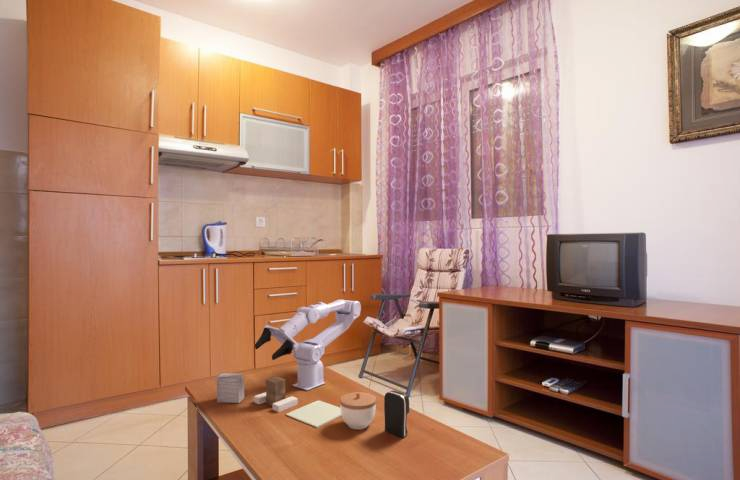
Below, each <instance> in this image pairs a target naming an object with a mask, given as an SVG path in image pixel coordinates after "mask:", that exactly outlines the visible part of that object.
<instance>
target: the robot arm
mask: <svg viewBox="0 0 740 480" xmlns="http://www.w3.org/2000/svg"><path fill="white" fill-rule="evenodd" d="M361 310H362V306H361V302H360V301H358V300H346V299H341V298H340V299H336V300H335V301H332V302H330V303H325V302H322V301H319V302H317V304H310V305H309V306H308V307H307V306H302V307H298V308H297V310H296V313H295V314H294V315H293V316H292V317H291V318H290V319H288V321H286V322H285V323H284V324H283V325H282V326H281V327H280V326H279V328H278V327H274V326H270V325H268V324H266V325H265V326H264V327H263V331H262V333H261V334H260V336H259V338H258V340H257V341H256V342H255V344H254V350H255V349H256V350H257V349H259V348H260V347H262V346H263V345H265V344H266V343H269V342H270V341H271V340H272V339H271V338H272V337H274V338H275V339H276V341H278V343H280V344H282V345H281V346H280V347H279V348H278V349H276V351H275V352H273V354H272V355H271V360H272V361H275V360H277V359H278V358H280V357H283V356H287V355H291V354H292V355H293V357H294V358H295V361H296V362H297V382H296V383H293V384H292V386H293V387H295V388H297V389H301V390H305V391H310V390H312V389H314V388H318V387H320V386H323V385H325V384H326V382H325V381H324V364H323V362H322V361H321V360H320V359H321V358H322V357H323V355H324V354H325V348H326V347H327V346H329V344H331V343H332V342H333V341H335V340H336V339H337V338H338V337H339V336H341V335H342V334H344V333H345V332H346V331H347V330H348V329H349V328H350V327H351V325H352V324H353V323H354V322H355V320H357V318H359V317H360V315H361ZM334 312H335V315H334V317H335V318H334V319H335V322H334V323H332V324H331V325H329V326H328V327H327V328H325V329H324V330H323V331H321V332H320V333H318V334H317V335H316V336H314V337H313V338H310V339H305V340H303V341H302V342H301V341H300V342H297V341H296V340H294V338H295V337H296V336H297V335H298V334H299V333H300V332H302V331H303V329H305V328H306V327H307V326H308V325H309V324H315V323H317V321H318V320H320V319H324V318H326V317H328V316H329V314H330V313H334Z"/></svg>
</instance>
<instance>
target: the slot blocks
mask: <svg viewBox="0 0 740 480" xmlns="http://www.w3.org/2000/svg"><path fill="white" fill-rule="evenodd" d="M253 403H255V404H257V405H262V404H266V391H265V392H262V393H260V394H256V395H254V396H253ZM297 405H299V398H298V397H295V396H288V397H287V398H286V397H285V399H283V400H281V401H278V402H276V403H273V406H272V411H275V412H277V413H280V412H283V411H285V410H287V409H290V408H292V407H295V406H297Z"/></svg>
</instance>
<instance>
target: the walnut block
mask: <svg viewBox="0 0 740 480" xmlns="http://www.w3.org/2000/svg"><path fill="white" fill-rule="evenodd" d="M265 392H266V402H265V404H267V405H269V406H272V407H273V403H276V402H278V401H281V400H283V399H286V379H285V378H282V377H278V376H273V377H270V378H267V379H266V380H265Z"/></svg>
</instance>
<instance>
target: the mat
mask: <svg viewBox="0 0 740 480" xmlns="http://www.w3.org/2000/svg"><path fill="white" fill-rule="evenodd" d="M285 416H287V417H289V418H292V419H293V420H294V419H295V420H296V421H298V422H301V423H303V424H306V425H310V426H312V427H315V428H316V429H318V428H320V427H322V426H324V425H326V424H328V423H330V422H332V421H334V420H336V419H338V418H340V417H342V415H341V408H340V407H339V406H337V405H334V404H331V403H328V402H325V401H322V400H316V401H313V402H311V403H309V404H308V403H307V404H306V405H304V406H301V407H299V408H296V409H293V410H291V411H290V412H287V413H286V414H285Z"/></svg>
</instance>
